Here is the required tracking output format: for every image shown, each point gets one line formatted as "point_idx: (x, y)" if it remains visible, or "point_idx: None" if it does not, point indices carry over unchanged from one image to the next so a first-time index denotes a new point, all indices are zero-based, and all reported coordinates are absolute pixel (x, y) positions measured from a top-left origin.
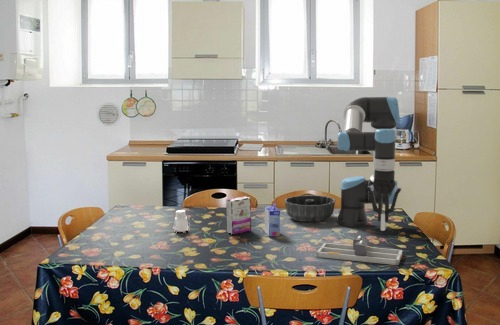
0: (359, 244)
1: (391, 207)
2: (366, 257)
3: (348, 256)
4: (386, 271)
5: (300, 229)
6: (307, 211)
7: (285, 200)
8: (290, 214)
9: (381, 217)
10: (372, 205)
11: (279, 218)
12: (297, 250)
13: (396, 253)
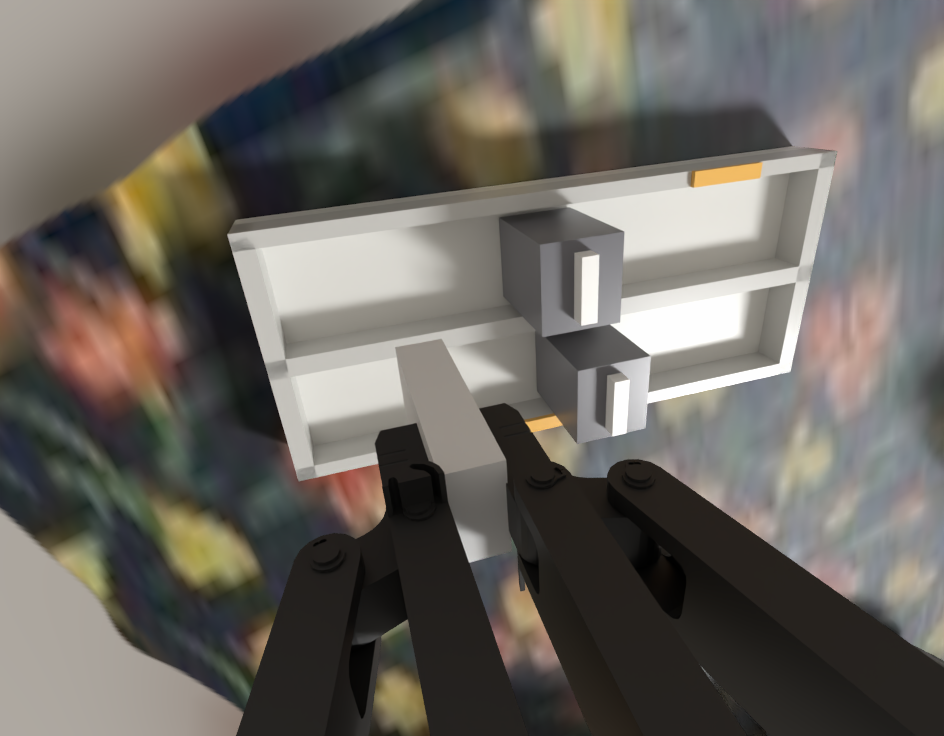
0: (588, 250)
1: (328, 626)
2: (489, 197)
3: (619, 179)
4: (291, 103)
5: (869, 566)
6: None
7: None
8: (933, 656)
9: (479, 427)
10: (737, 526)
11: None
12: (894, 271)
13: (334, 446)
